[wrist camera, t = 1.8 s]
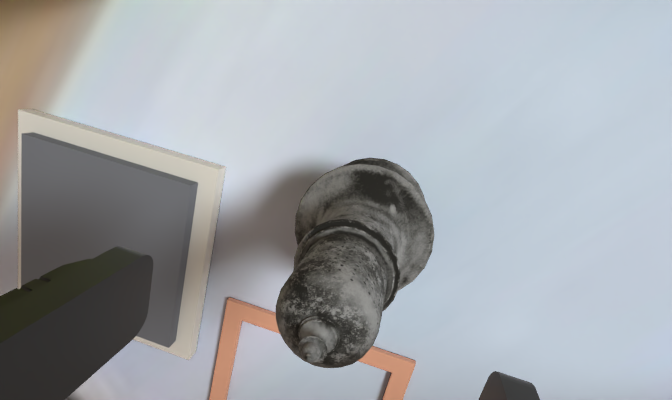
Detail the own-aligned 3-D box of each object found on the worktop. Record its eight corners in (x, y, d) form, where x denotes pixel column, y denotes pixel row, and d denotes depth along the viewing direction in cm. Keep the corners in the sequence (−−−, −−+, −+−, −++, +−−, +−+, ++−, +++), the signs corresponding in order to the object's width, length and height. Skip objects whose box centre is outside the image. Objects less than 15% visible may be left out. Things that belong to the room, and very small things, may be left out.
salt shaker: (336, 274, 22) (240, 477, 10) (300, 170, 21) (148, 268, 9) (445, 250, 20) (476, 457, 9) (413, 136, 19) (400, 202, 8)
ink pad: (225, 166, 21) (212, 172, 20) (196, 351, 25) (182, 367, 23) (31, 109, 23) (5, 110, 21) (29, 291, 26) (7, 302, 25)
